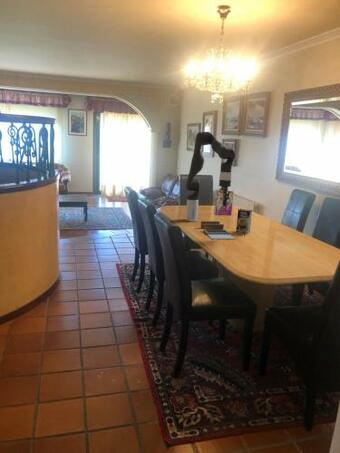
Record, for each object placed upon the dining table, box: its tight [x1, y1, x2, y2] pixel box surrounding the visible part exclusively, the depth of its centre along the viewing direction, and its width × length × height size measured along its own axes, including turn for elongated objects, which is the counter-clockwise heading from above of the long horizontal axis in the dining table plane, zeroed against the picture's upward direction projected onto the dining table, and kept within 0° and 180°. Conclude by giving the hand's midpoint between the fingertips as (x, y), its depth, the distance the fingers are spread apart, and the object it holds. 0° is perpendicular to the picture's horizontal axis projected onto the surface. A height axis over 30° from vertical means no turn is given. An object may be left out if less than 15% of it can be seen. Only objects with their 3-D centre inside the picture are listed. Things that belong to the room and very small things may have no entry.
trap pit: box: [203, 228, 231, 236], centre depth 259 cm, size 10×16×2 cm, turn 100°
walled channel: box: [200, 220, 225, 230], centre depth 270 cm, size 11×14×5 cm
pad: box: [207, 234, 236, 240], centre depth 249 cm, size 10×16×1 cm, turn 100°
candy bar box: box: [213, 189, 234, 216], centre depth 244 cm, size 11×5×16 cm, turn 100°
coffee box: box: [235, 208, 253, 234], centre depth 267 cm, size 9×6×16 cm
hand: (223, 204), depth 245 cm, fingers closed on candy bar box, 5 cm apart
